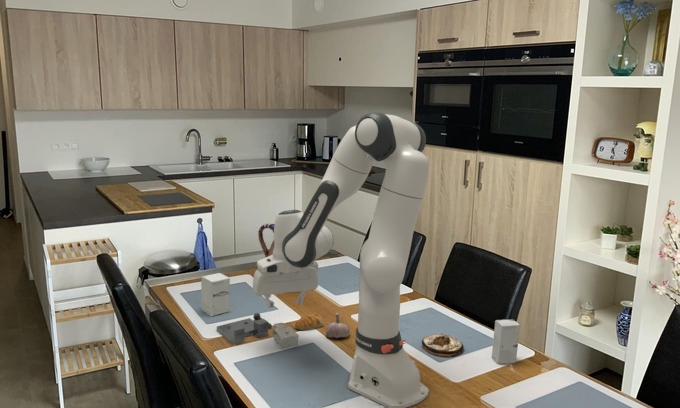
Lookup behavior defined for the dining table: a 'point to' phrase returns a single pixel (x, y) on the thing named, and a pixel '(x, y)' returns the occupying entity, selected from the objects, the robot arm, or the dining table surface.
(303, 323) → the pastry
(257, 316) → the hinge pin
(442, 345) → the brown flat two-tone disc
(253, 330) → the gunmetal leaf
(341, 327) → the garlic bulb
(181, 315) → the dining table surface
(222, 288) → the supplement box
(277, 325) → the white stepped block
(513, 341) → the skincare box
